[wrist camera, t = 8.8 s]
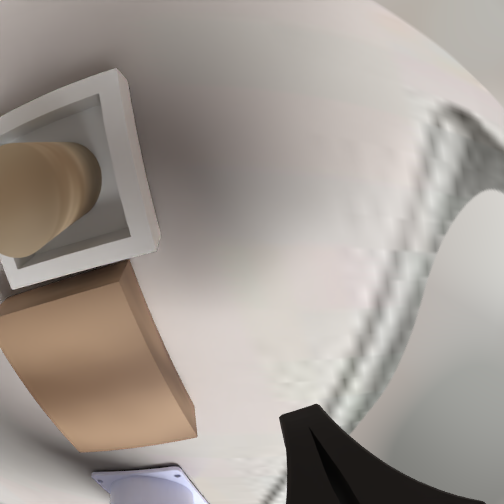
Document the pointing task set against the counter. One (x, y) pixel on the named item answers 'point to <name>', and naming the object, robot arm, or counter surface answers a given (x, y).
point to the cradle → (112, 169)
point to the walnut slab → (97, 361)
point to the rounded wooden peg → (43, 192)
